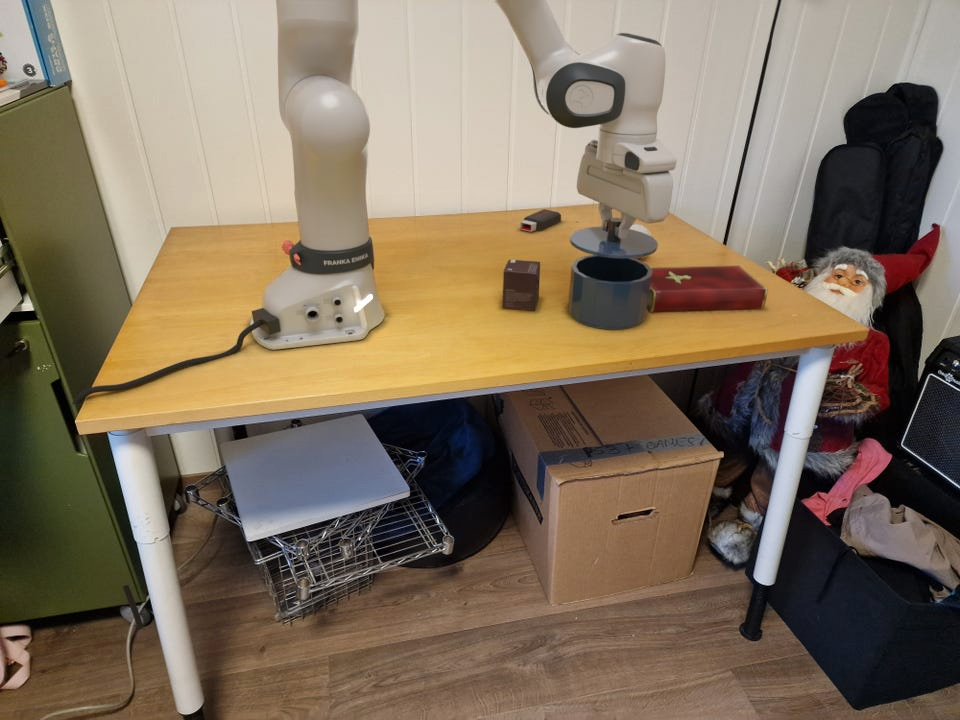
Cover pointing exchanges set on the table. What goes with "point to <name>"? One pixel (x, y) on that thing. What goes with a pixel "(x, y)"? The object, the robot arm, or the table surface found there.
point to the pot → (609, 292)
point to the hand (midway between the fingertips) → (614, 234)
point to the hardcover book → (704, 289)
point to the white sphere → (640, 230)
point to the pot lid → (613, 242)
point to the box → (521, 284)
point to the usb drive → (540, 220)
